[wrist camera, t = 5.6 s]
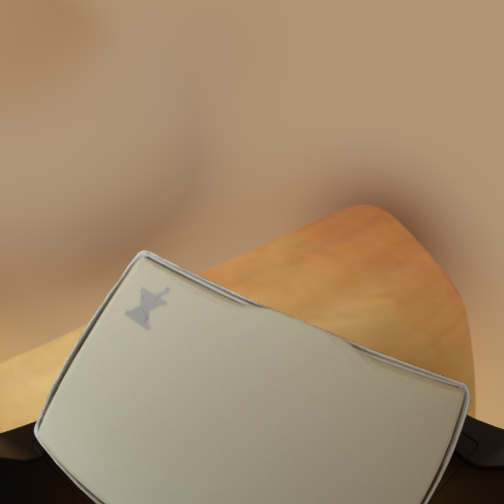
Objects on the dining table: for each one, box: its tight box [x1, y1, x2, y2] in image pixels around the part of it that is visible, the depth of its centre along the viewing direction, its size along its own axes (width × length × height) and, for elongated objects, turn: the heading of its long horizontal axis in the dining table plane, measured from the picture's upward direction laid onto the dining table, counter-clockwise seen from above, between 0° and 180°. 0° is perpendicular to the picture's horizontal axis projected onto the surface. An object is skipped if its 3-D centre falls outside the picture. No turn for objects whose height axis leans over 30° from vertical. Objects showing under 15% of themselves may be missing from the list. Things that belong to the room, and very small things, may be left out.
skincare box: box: [34, 250, 471, 504], centre depth 8 cm, size 6×4×12 cm
